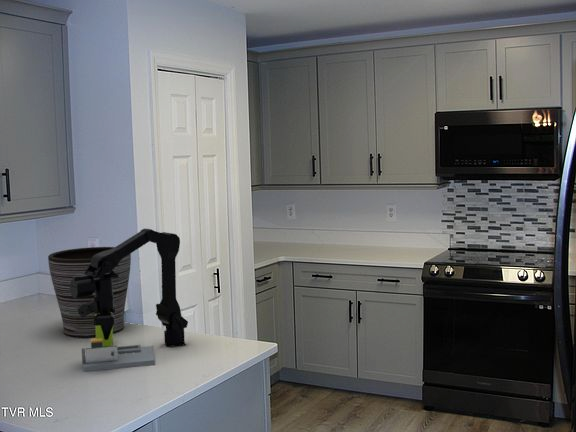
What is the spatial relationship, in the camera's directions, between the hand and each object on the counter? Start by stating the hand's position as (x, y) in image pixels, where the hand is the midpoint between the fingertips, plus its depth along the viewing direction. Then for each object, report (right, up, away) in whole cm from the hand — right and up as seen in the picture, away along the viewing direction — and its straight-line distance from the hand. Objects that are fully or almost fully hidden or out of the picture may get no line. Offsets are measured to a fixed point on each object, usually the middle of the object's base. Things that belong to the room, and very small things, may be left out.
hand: (106, 339), depth 219 cm
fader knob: (-4, -5, +4) cm, 8 cm away
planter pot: (-15, -4, +38) cm, 42 cm away
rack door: (0, -6, -5) cm, 8 cm away
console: (+4, -7, +1) cm, 8 cm away
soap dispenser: (-5, -6, +19) cm, 21 cm away
